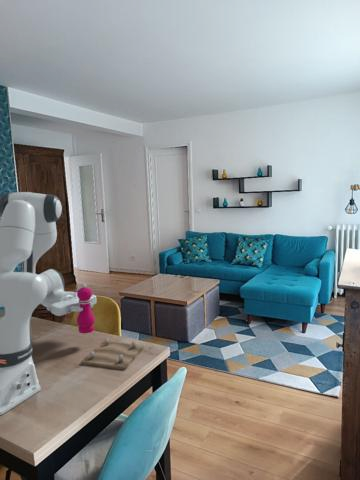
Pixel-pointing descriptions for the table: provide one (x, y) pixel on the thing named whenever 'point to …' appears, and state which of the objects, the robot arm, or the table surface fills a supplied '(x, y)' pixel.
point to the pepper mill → (85, 310)
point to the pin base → (113, 355)
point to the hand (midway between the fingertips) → (86, 307)
